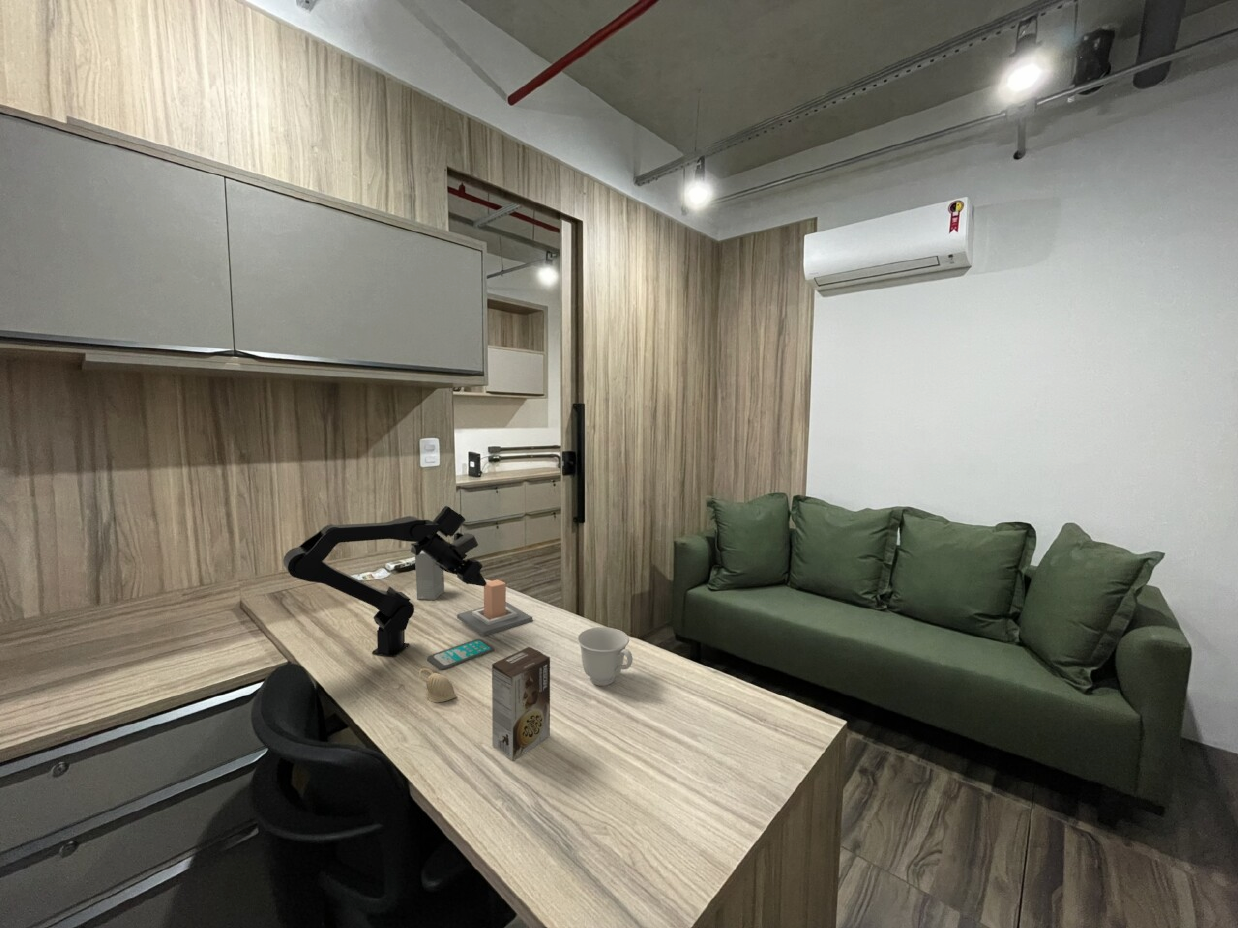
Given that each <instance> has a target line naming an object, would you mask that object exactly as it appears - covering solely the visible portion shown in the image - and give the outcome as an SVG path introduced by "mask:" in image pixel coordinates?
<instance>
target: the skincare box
mask: <svg viewBox="0 0 1238 928" xmlns="http://www.w3.org/2000/svg"><path fill="white" fill-rule="evenodd" d="M414 565H415V566H414V567H415V583H416V584H415V587H416V600H428V601H429V600H432V601H436V600H437V599H438V598H439V597H440V596H441V595H443V593H444V592H445V578H444V570H442V569H440V568H439V567H437V566H436V565H435V561H434V560H432V559H431V557H430V556H428V555H427V554H426V553H424V552H423V551H421V552H420V553H419V555H415V554H414Z"/></svg>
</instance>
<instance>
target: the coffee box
mask: <svg viewBox="0 0 1238 928" xmlns="http://www.w3.org/2000/svg"><path fill="white" fill-rule="evenodd" d="M491 676H492V678H491V682H492V683H491V684H492V685H491V693H492V694H491V696H492V699H491V700H492V702H491V705H492V706H491V707H492V709H491V710H492V711H491V714H492V716H491V717H492V718H491V720H492V721H491V722H492V737H491V738H492V747H493V748H494V749H496V750H498V751H499V752H500V753H501V754H503V755H504V756H505V757H507V759H509V760H510V761H512V762H513V761H515V760H517V759H518V758H520V757H522V756H523V755H524V754H526V753H527V752H528V751H531V750H532V749H533V748H534V747H536V746H538V744H540V743H542V742H544V741H545V740H546V739H547V738H549V737H550V736H551V657H550V656H547V655H546V654H543V652H541V651H539V650H538V649H535V648H533V647H531V646H527V647H525V648H524V649H521V650H519V651H517V652H514V653H513V654H511V655H509V656H506V657H504V658H502V659H500V660H498V661H496V662H494V663H492V664H491Z"/></svg>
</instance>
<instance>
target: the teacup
mask: <svg viewBox="0 0 1238 928" xmlns="http://www.w3.org/2000/svg"><path fill="white" fill-rule="evenodd" d="M629 642H630V639H629V636H628V635H627V634H626V633H625V632H624V631H622V630H619V629H616V628H614V627H601V626H600V627H599V626H598V627H593V628H588V629H586V630H584V631H582V632H581V633H580V634H579V635H578V636H577V643H578V644H579V646H580V650H581V651H580V653H581V662H582V667H583V670H584V673H585V674H586V675H587V676H588V677H589V680H590V682H591V683H592V684H594V685H597V686H608V685H611V684H612V683H614V681H615V677H617V676H618V675H619V674H620V673H621V671H622V670H627V669H629V668H631V666H632V665H633V661H634V660H633V654H632V652H631V651H630V650H629V649H627V647H626V646H628V644H629ZM624 656H625V657H624ZM624 658H626V664H624Z"/></svg>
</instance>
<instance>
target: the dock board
mask: <svg viewBox="0 0 1238 928" xmlns="http://www.w3.org/2000/svg"><path fill="white" fill-rule="evenodd" d="M456 618H457V619H458V620H459V621H460V622H462V623H463V624H465V625H466V626H468V627H469V628H471V630H473V631H474V632H476V633H478V634H479V635H480V636H482V637H486V636H489V635H492V634H495V633H499V632H501V631H505V630H507V629H511V628H514V627H517V626H521V625H523V624H527V623H529V622H533V616H531V615H530V614H529V613H526V612H525V611H523V610H521V609H519V608H517V607H516V606H514V605H512V604H510V603H508V602H507V601H506V615H504V616H500V617H497V618H494V619H489V618H488V617H486V616H484V606H481V607H478V608H474V609H471V610H467V611H463V612H459V613H457V614H456Z"/></svg>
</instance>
